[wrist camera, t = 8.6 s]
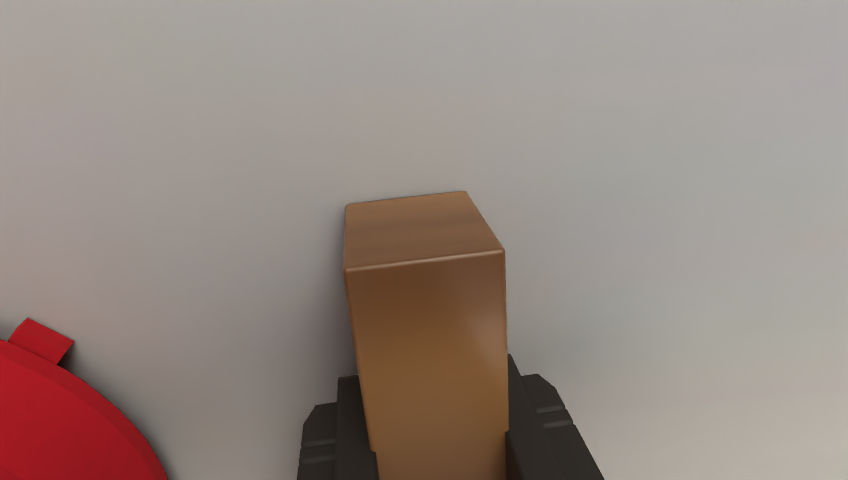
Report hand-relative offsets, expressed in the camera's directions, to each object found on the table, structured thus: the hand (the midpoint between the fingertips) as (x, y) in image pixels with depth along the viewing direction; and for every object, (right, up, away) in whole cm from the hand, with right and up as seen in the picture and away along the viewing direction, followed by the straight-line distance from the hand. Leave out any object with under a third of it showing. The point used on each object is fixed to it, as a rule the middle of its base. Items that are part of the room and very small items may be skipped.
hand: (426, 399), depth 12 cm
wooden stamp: (0, -3, +2) cm, 3 cm away
